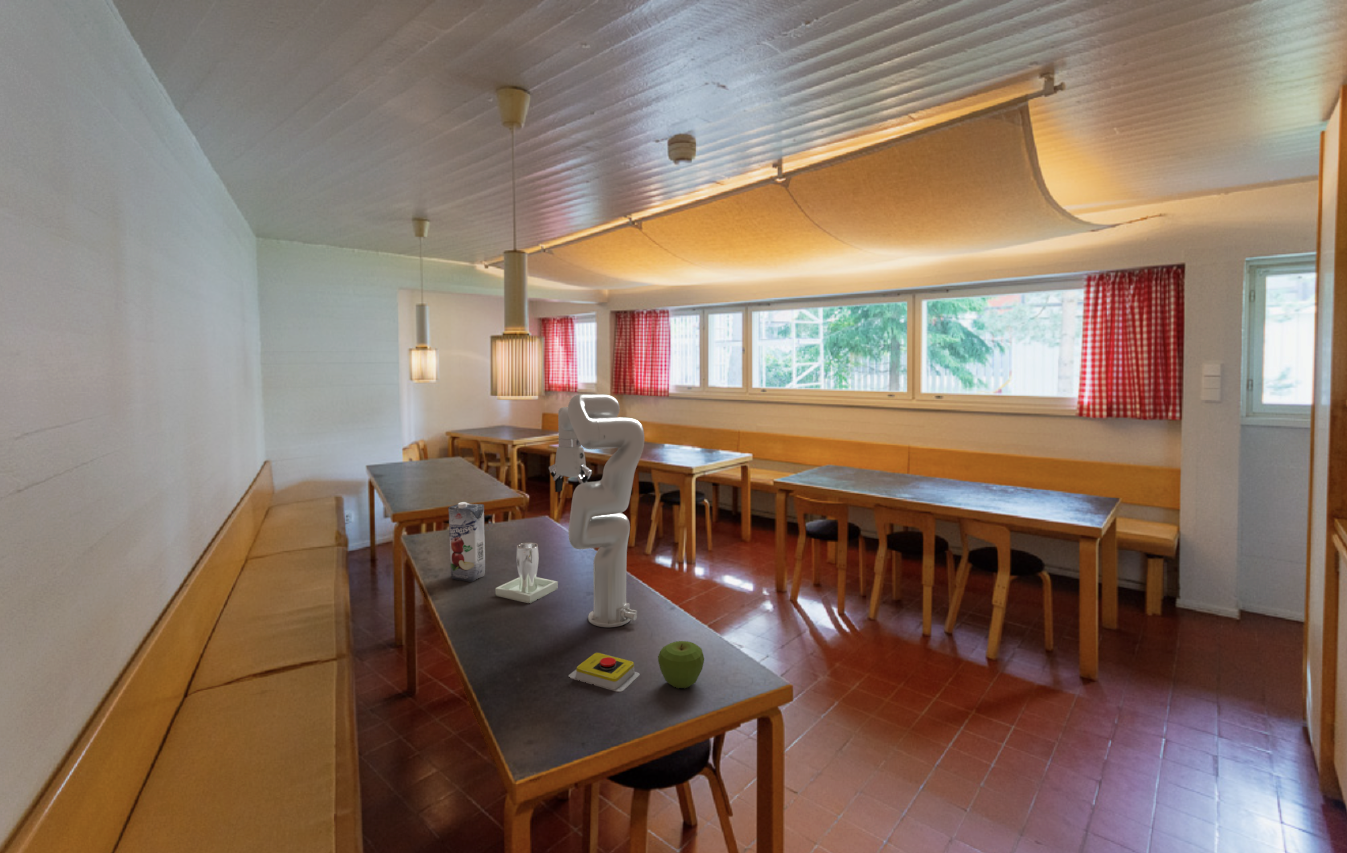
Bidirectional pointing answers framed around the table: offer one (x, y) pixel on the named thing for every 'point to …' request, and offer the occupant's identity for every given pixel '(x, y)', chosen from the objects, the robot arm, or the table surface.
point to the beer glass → (527, 567)
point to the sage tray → (512, 592)
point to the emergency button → (606, 672)
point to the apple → (681, 663)
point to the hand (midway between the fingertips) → (570, 492)
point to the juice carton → (467, 541)
